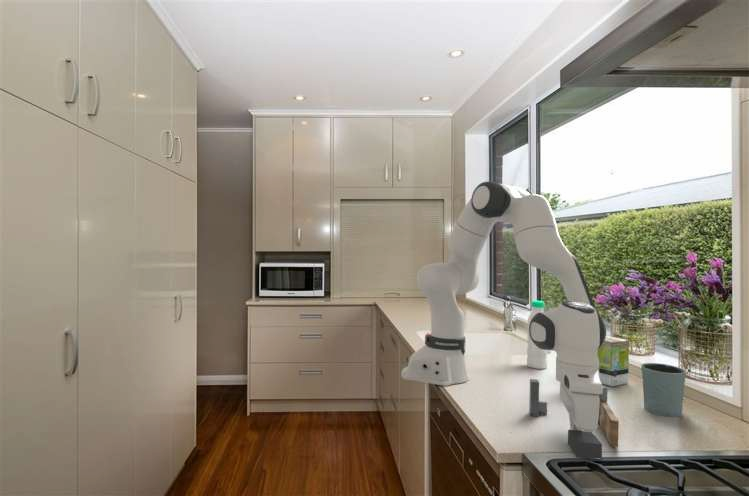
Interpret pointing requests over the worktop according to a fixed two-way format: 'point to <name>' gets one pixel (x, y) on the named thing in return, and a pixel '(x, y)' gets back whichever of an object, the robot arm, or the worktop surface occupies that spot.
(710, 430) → the worktop surface
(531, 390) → the post
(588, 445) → the block
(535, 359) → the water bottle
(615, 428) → the gate
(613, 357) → the tea box
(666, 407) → the grey green cup
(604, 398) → the hinge post
